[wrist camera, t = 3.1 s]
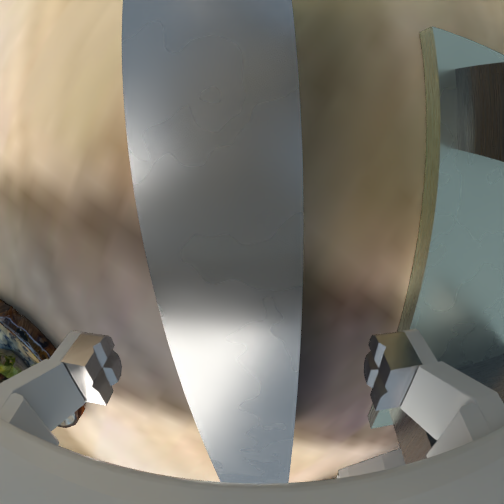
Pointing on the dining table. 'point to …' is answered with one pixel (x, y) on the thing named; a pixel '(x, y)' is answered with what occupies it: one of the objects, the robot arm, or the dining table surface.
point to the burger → (24, 349)
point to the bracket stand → (458, 224)
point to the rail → (222, 213)
